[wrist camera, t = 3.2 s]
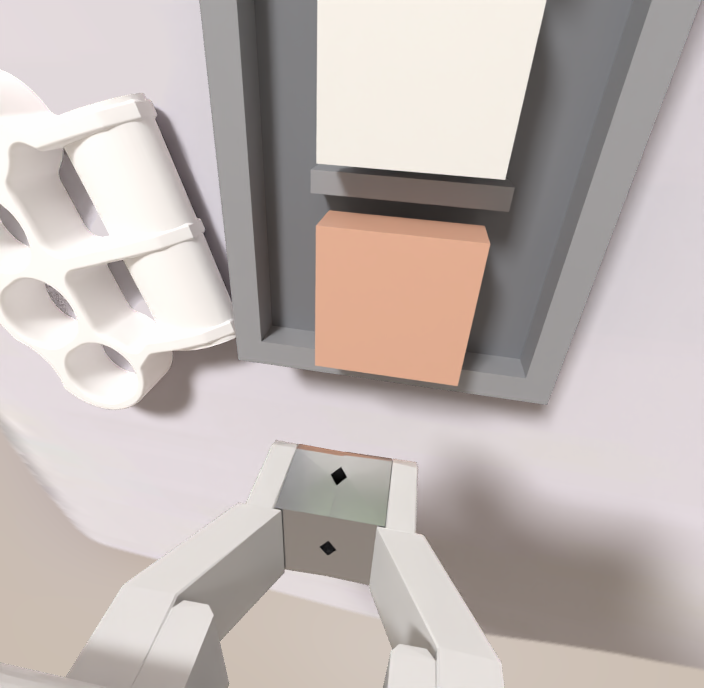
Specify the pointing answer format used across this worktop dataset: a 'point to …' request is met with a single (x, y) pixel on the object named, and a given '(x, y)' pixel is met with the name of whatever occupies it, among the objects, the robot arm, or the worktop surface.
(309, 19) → the grey divided tray
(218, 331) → the knuckle duster
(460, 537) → the worktop surface
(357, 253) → the block
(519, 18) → the off-white square tile
